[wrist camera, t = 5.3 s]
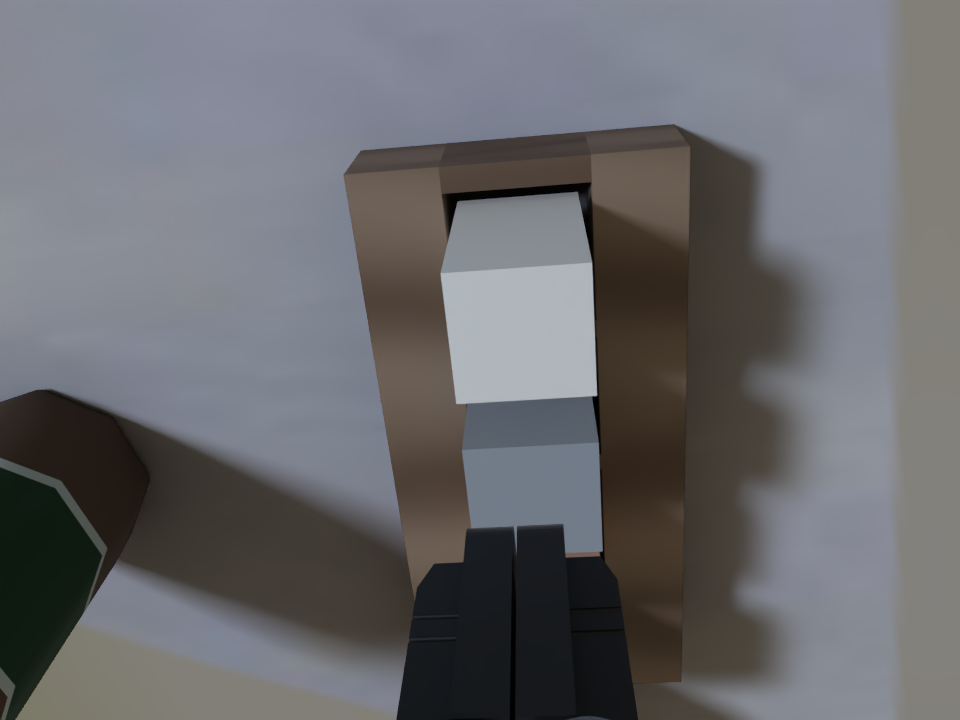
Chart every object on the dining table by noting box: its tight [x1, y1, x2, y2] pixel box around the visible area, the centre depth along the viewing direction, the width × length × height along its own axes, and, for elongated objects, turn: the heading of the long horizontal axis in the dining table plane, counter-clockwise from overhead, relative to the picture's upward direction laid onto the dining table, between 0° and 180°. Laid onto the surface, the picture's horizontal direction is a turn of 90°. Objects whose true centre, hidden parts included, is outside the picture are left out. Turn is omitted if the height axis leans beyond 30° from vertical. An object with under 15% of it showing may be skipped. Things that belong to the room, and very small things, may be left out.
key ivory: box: [440, 192, 597, 404], centre depth 24 cm, size 4×4×6 cm
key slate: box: [462, 396, 603, 553], centre depth 26 cm, size 4×4×6 cm
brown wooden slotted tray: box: [344, 124, 690, 683], centre depth 31 cm, size 21×10×3 cm, turn 5°
